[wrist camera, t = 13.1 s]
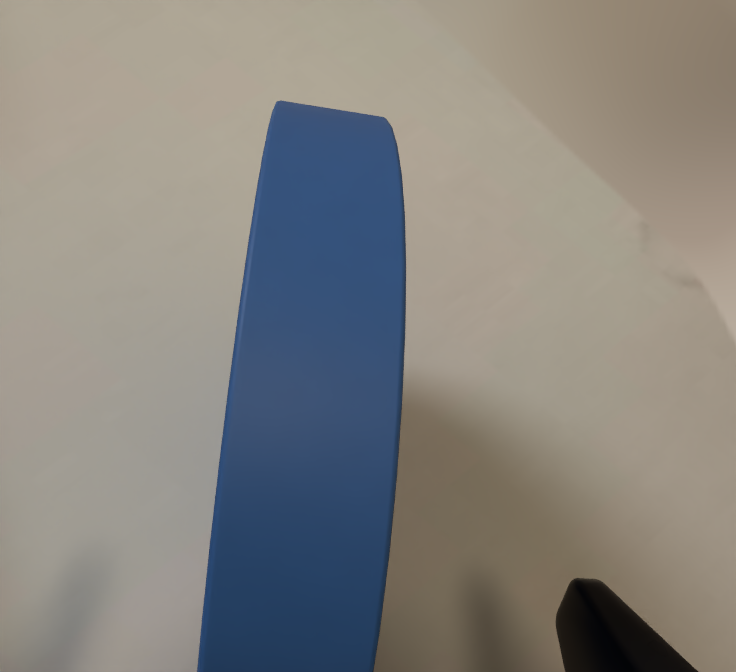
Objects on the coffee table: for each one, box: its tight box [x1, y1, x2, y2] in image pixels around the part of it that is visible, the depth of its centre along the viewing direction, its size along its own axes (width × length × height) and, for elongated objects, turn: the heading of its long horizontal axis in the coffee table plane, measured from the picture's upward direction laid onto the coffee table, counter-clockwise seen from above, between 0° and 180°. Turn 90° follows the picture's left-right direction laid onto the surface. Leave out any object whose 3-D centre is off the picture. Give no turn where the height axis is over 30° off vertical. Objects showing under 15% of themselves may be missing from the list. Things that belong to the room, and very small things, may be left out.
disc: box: [197, 101, 406, 672], centre depth 11 cm, size 11×2×11 cm, turn 176°
